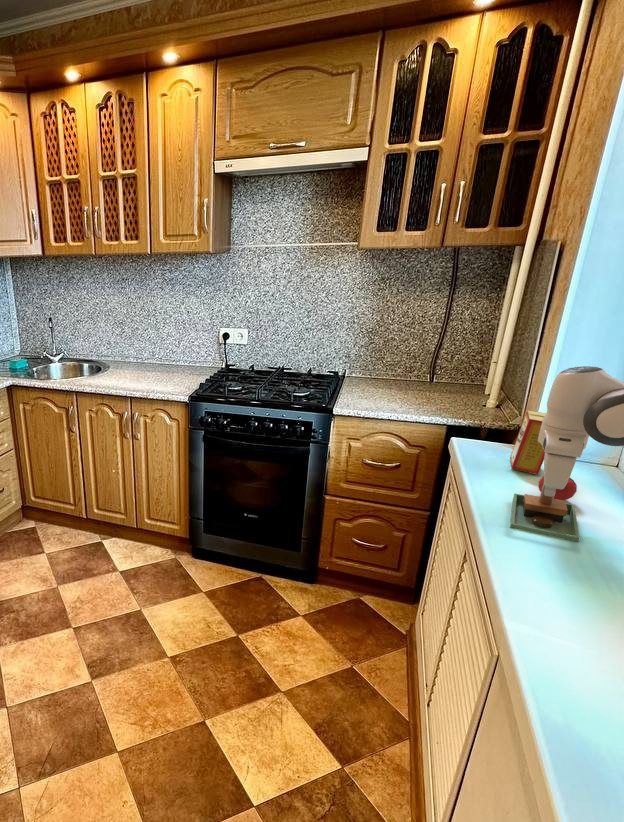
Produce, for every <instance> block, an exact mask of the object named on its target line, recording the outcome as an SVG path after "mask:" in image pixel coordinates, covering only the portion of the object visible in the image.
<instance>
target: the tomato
mask: <svg viewBox="0 0 624 822" xmlns="http://www.w3.org/2000/svg"><path fill="white" fill-rule="evenodd" d="M543 484H544V475H543V476H542V477H541V478H540V479H539V480H538V486H537V488H538V490H539V492H540V493H541V491H542V487H543ZM577 488H578V486H577V483H576V482H575V480H574V479H573V478H571V477H569V480H568V482H567V484H566V486H565V487H564V489H556V492H555V496H554V499H558V500H564V501H566V500H569V499H572V498H573V497H574V496H575V494H577Z"/></svg>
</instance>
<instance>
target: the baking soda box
mask: <svg viewBox="0 0 624 822" xmlns="http://www.w3.org/2000/svg"><path fill="white" fill-rule="evenodd" d="M546 413H547V412H541V411H537V410H530V409H527V410H526V413H525V415H524V417H523V421H522V423H521V426H520V428H519V431H518V434H517V436H516V440H515V443H514V446H513V448H512V451H511V454H510V456H509V460H510V461H509V463H510V467H511V468H510V469H511V470H516V471H520V472H524V473H529V474H533V475H539V474H540V471H541V468H542V465H543V464H544V455H545V452H544V449H543V446H542V445H541V443H539V442H538V437H539V433H540V429H541V425H542V421H543V419H544V417H545V416H546Z"/></svg>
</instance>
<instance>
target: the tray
mask: <svg viewBox="0 0 624 822" xmlns="http://www.w3.org/2000/svg"><path fill="white" fill-rule="evenodd" d="M524 495H525V494H520V493H514V494H513V497H512V502H511V512H510V521H509V529H515V530H521V531H527V532H530V533H535V534H540V535H544V536H549V537H552V538H553V537H554V538H557V539H562V540H567V541H571V542H576V543H579V541H580V534H579V526H578V518H577V512H576V504H575V503H574V504H573V503H568V502H566V506H567V510H568V511H567V514H566V516H564V517H563V521H562V523H561V522H555V521H553V526H552V528H541V527H538V526H535V525H533V524H532V523H531V521H532V517H528V516H524V512H523V506H524V501H523V499H524Z"/></svg>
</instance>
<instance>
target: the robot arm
mask: <svg viewBox="0 0 624 822" xmlns="http://www.w3.org/2000/svg"><path fill="white" fill-rule="evenodd" d="M546 409H547V410H546V412H545V413H546V416H545V417H544V419H543V421H542V425H541V429H540V433H539V437H538V442H539V443H541V445H542V446H543V449H544V452H545V455H544V461H543V476H544V486H545V490H544V495H545V496H550V497H552V496H553V495H554V492H555V489H564V487H565V486H566V484H567V482H568V480H569V478H571V476H572V472H573V470H574V467H575V465H576V462H577V459H579V458H581V457H582V455H583V451H584V450H585V449H586V448H587V445H588V441H589V438H591V439H592V440H594V441H596V442H597V443H598V444H599V443H600V444H602V445H604V446H609V447H624V382H623V381H621V380H619V379H617V378H615V377H613V376H612V375H611V374H609V373H607V372H606V371H605V370H604V368H602V367H598V366H592V365H591V366H583V365H582V366H574V367H568V368H566V369H564V370H562V371H560V372H559V373H557V375H556V376H555V378H554V380H553V383H552V385H551V388H550V391H549V394H548V397H547V402H546Z"/></svg>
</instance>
